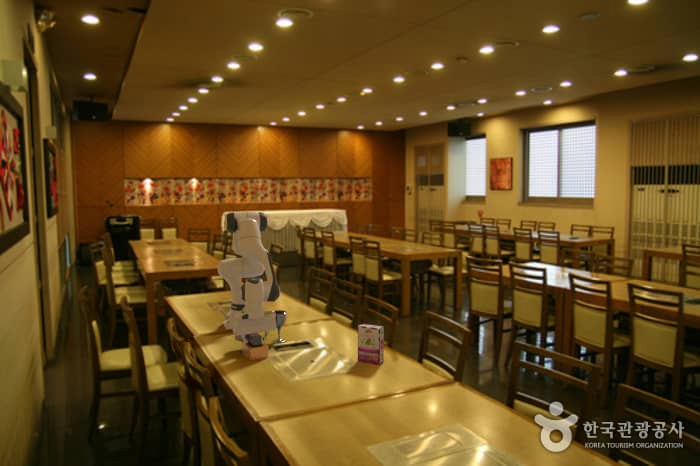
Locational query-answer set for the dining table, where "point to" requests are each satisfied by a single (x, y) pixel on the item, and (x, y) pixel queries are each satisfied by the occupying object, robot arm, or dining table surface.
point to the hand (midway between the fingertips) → (255, 341)
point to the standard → (253, 349)
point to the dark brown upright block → (255, 340)
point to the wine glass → (280, 324)
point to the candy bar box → (371, 343)
